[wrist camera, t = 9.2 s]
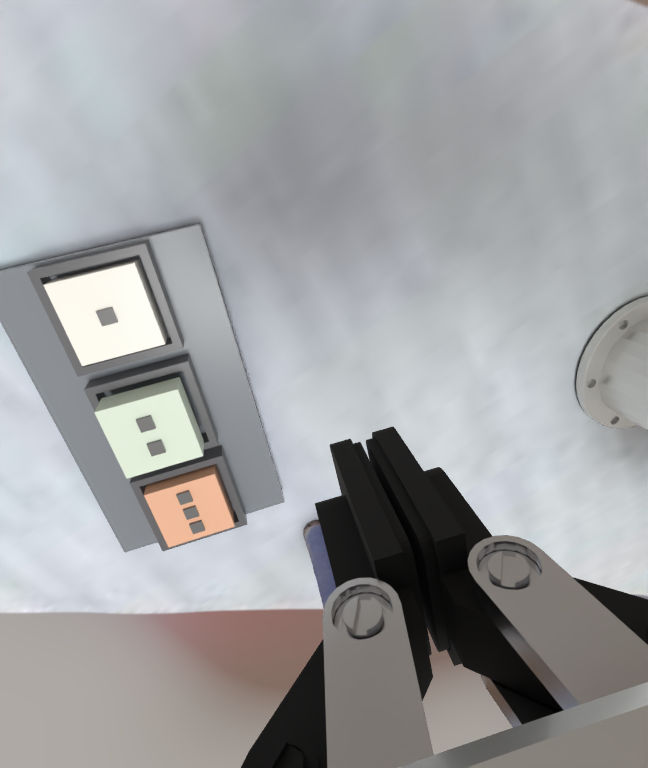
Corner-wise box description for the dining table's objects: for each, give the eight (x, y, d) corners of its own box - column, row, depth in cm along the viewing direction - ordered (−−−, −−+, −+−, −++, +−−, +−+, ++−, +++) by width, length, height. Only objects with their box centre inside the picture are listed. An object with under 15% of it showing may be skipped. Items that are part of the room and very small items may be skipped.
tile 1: (139, 257, 28) (133, 263, 26) (167, 334, 30) (165, 345, 28) (54, 278, 27) (42, 285, 25) (89, 355, 29) (81, 367, 27)
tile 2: (179, 376, 30) (177, 390, 28) (203, 440, 32) (203, 457, 30) (101, 398, 29) (93, 413, 27) (131, 461, 31) (126, 480, 29)
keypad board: (200, 222, 29) (199, 227, 27) (281, 490, 39) (287, 513, 36) (-12, 272, 28) (-36, 282, 25) (127, 539, 37) (121, 566, 35)
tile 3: (214, 458, 34) (214, 475, 32) (233, 509, 36) (234, 528, 34) (147, 478, 34) (143, 497, 32) (170, 529, 36) (168, 549, 34)
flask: (297, 533, 41) (324, 639, 32) (318, 511, 41) (353, 611, 31) (366, 573, 45) (409, 678, 35) (386, 552, 45) (436, 653, 35)
